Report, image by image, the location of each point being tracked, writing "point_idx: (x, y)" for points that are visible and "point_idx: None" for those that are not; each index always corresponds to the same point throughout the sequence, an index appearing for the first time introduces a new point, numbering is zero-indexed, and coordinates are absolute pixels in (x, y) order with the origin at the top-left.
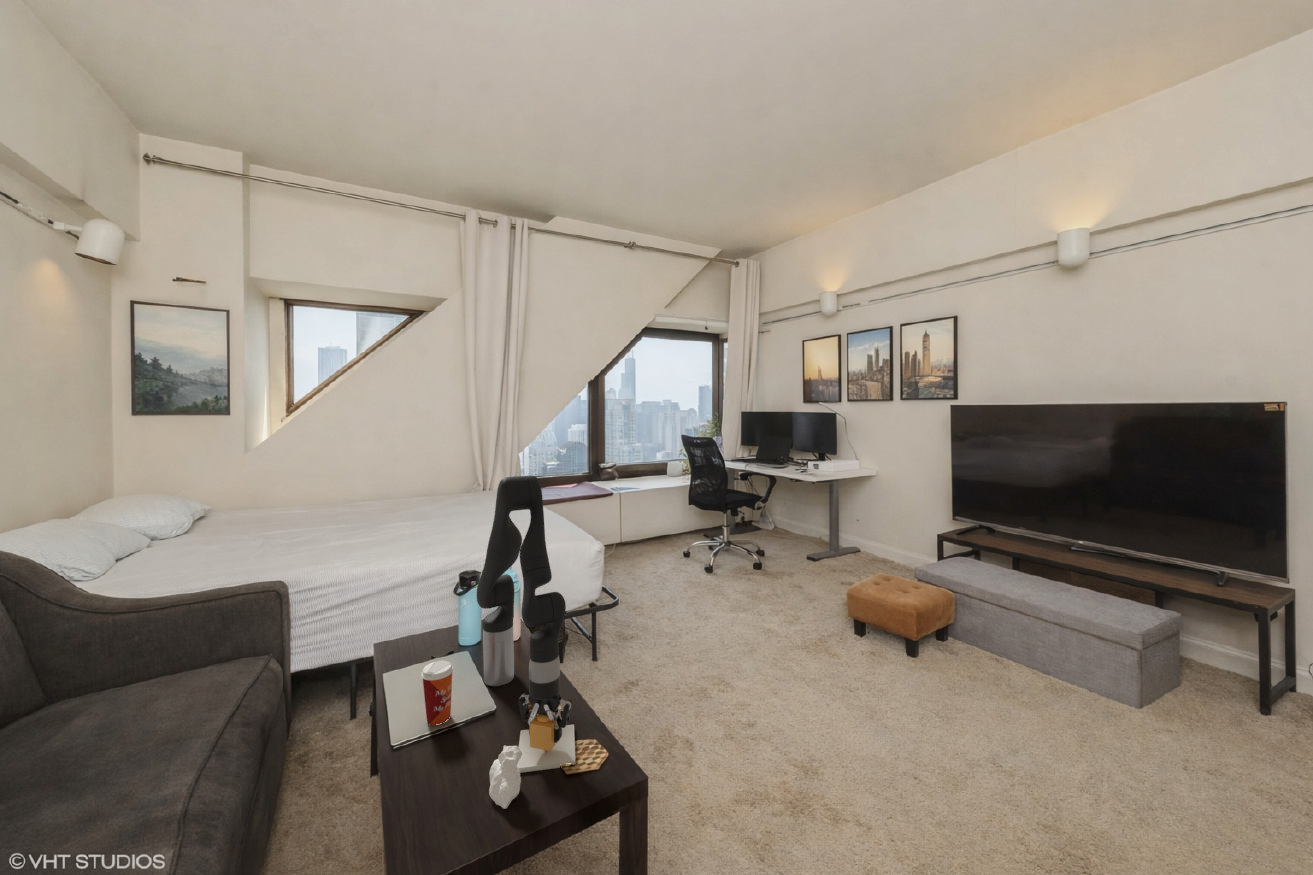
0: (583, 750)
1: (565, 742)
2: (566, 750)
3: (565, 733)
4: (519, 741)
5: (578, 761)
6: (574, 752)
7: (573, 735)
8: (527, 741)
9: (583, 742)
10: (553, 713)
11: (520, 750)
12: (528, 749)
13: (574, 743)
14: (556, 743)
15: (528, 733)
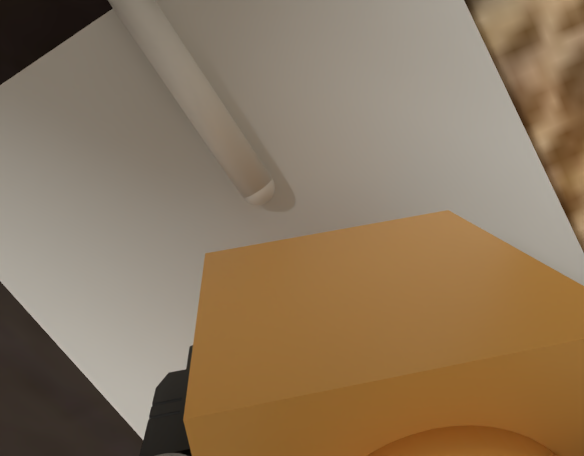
0: (574, 109)
1: (430, 134)
2: (487, 222)
3: (369, 17)
4: (16, 295)
5: (581, 231)
6: (560, 215)
7: (457, 11)
8: (88, 265)
9: (538, 15)
10: (517, 380)
11: (114, 378)
12: (172, 344)
13: (515, 114)
14: (359, 179)
15: (8, 166)
